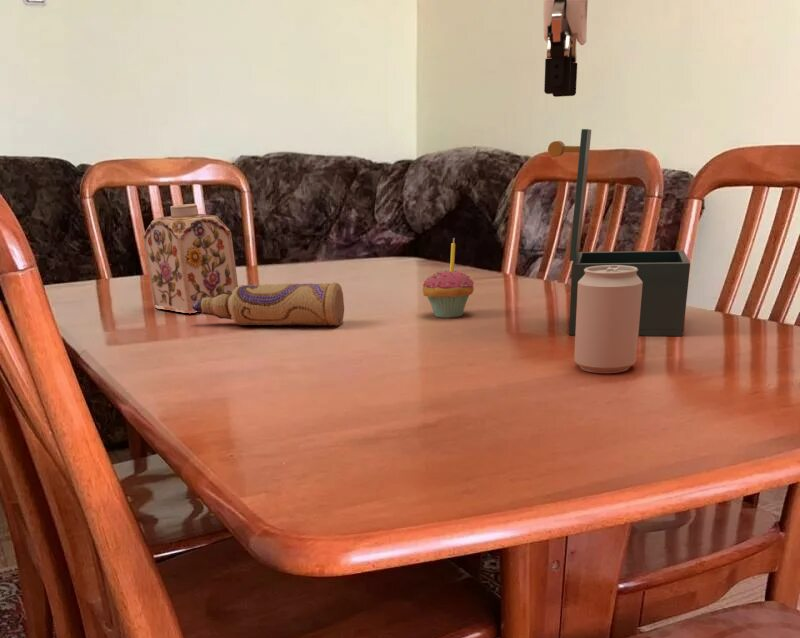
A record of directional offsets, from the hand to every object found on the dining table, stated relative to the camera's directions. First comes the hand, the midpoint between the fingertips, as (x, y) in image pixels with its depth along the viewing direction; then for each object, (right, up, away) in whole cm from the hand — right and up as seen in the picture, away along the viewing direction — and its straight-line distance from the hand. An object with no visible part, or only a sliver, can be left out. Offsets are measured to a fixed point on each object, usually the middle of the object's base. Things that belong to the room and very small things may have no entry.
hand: (560, 94), depth 111 cm
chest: (+12, -28, +13) cm, 33 cm away
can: (+4, -39, -9) cm, 40 cm away
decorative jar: (-60, -17, +43) cm, 76 cm away
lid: (+4, -11, +6) cm, 13 cm away
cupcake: (-13, -23, +26) cm, 37 cm away
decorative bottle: (-43, -25, +26) cm, 55 cm away
